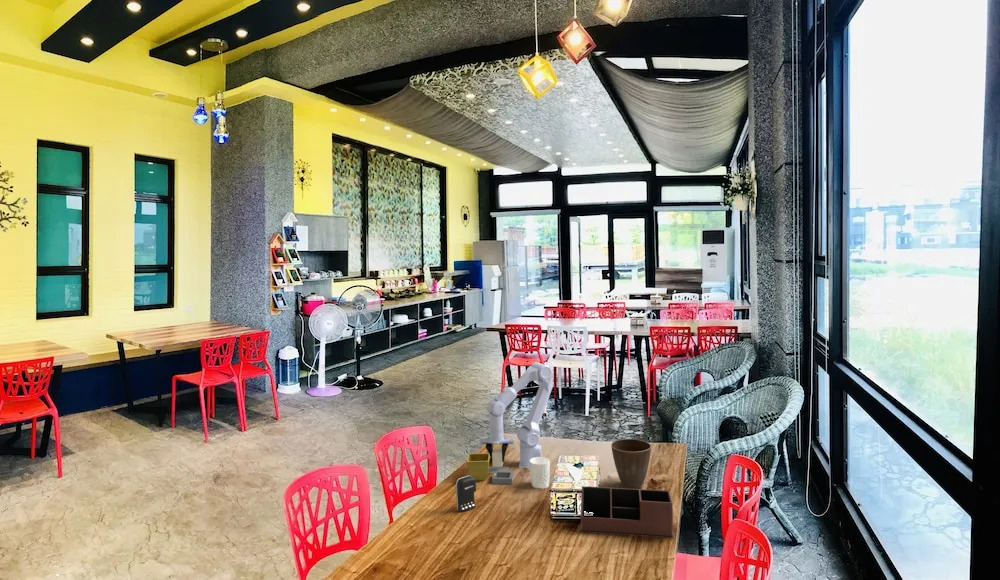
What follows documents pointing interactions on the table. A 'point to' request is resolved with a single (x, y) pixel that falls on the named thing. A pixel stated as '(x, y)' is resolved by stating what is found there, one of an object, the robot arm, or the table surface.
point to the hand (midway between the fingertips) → (497, 461)
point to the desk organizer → (627, 511)
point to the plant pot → (631, 461)
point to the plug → (497, 458)
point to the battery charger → (465, 493)
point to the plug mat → (497, 469)
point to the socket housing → (503, 477)
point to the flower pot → (478, 466)
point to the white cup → (540, 472)
